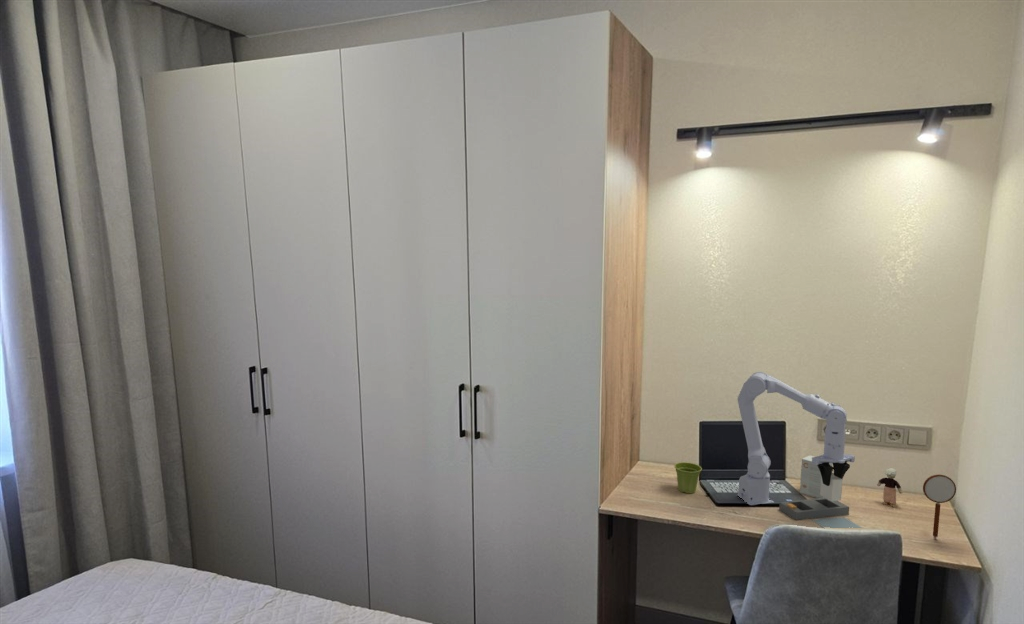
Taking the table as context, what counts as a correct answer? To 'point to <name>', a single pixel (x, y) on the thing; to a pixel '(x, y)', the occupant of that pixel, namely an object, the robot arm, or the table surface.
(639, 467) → the table surface
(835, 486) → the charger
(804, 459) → the small box
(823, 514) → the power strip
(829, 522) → the mat
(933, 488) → the magnifying glass
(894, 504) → the grandmother figurine
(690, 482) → the plant pot
